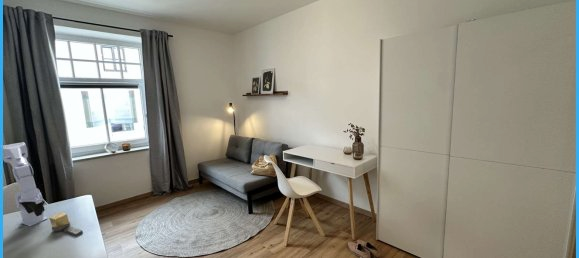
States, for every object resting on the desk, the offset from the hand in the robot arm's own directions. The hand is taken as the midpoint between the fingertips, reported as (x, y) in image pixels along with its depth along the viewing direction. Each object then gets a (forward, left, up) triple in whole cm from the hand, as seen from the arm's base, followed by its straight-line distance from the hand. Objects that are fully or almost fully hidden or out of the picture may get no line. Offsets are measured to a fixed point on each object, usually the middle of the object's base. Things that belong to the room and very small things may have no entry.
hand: (35, 213), depth 129 cm
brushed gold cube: (+9, +5, -8) cm, 13 cm away
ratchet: (+15, +5, -9) cm, 18 cm away
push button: (-26, +10, -10) cm, 29 cm away
